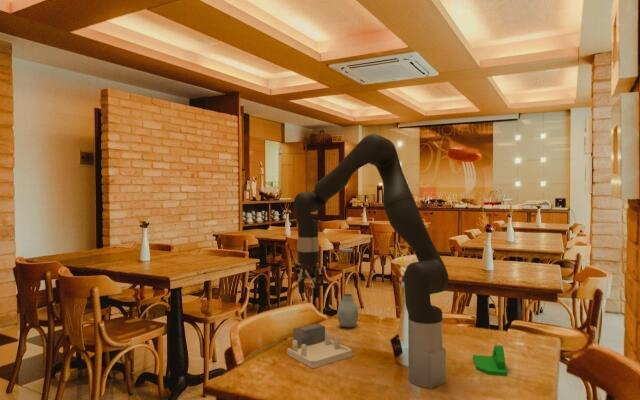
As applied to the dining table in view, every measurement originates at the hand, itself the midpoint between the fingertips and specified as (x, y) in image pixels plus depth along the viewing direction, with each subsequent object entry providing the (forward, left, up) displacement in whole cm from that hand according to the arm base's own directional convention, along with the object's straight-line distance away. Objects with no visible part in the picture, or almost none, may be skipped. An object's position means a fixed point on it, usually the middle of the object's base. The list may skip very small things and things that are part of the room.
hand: (308, 295), depth 157 cm
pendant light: (+4, -21, -16) cm, 27 cm away
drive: (0, 0, -16) cm, 16 cm away
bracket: (-51, -29, -17) cm, 61 cm away
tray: (-13, +5, -16) cm, 21 cm away
